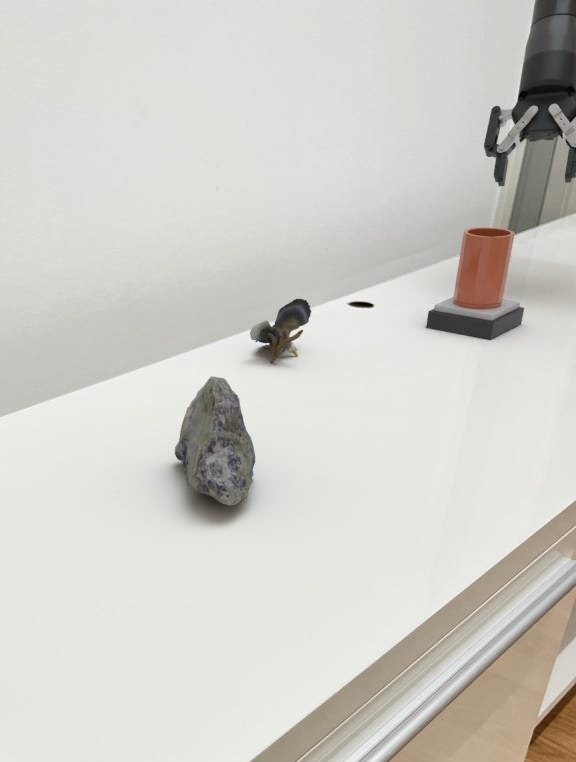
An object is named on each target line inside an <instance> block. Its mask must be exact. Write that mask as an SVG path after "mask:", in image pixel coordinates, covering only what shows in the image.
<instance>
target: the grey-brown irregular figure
mask: <svg viewBox="0 0 576 762" xmlns="http://www.w3.org/2000/svg"><path fill="white" fill-rule="evenodd" d="M311 314H312V310H311V305H310V303H309V302H308V300H307V299H304V298H295V299H293V300H292V301H289V302H288V303H286V304H285V305H284V306H282V307H281V308H279V309H278V311H277V316H276V318H275V320H274V324H273V325H271V324H270V321H268V320H262V321H261V322H259V323H257V324H255V325H254V326H253V327H251V329H250V331H249V336H250V339H251V340H252V341H254V342H255V343H261V344H265V345H264V346H263V347H264V349H269V350H271V358H270V364H274V362H275V361H277V359H278V358H279V357H280V356H281V353H282V352H283V350H286V351H288V352H289V353H291V354H293V355H294V356H295V357H296V358H297V357H298V356H299V355H298V352H297V347H296V346H295V344H294V342H293V341H295V340H297V339H299V338H300V337H301V335H302V334H303V332H304V329H300V330H299V331H297V333H295V334H293V335H292V336H290V335H291V333H292V332H293V331H295V330H298V329H299V328H300V327H303V326H306V325H307V324H308V323H309V321H310V317H311Z"/></svg>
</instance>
